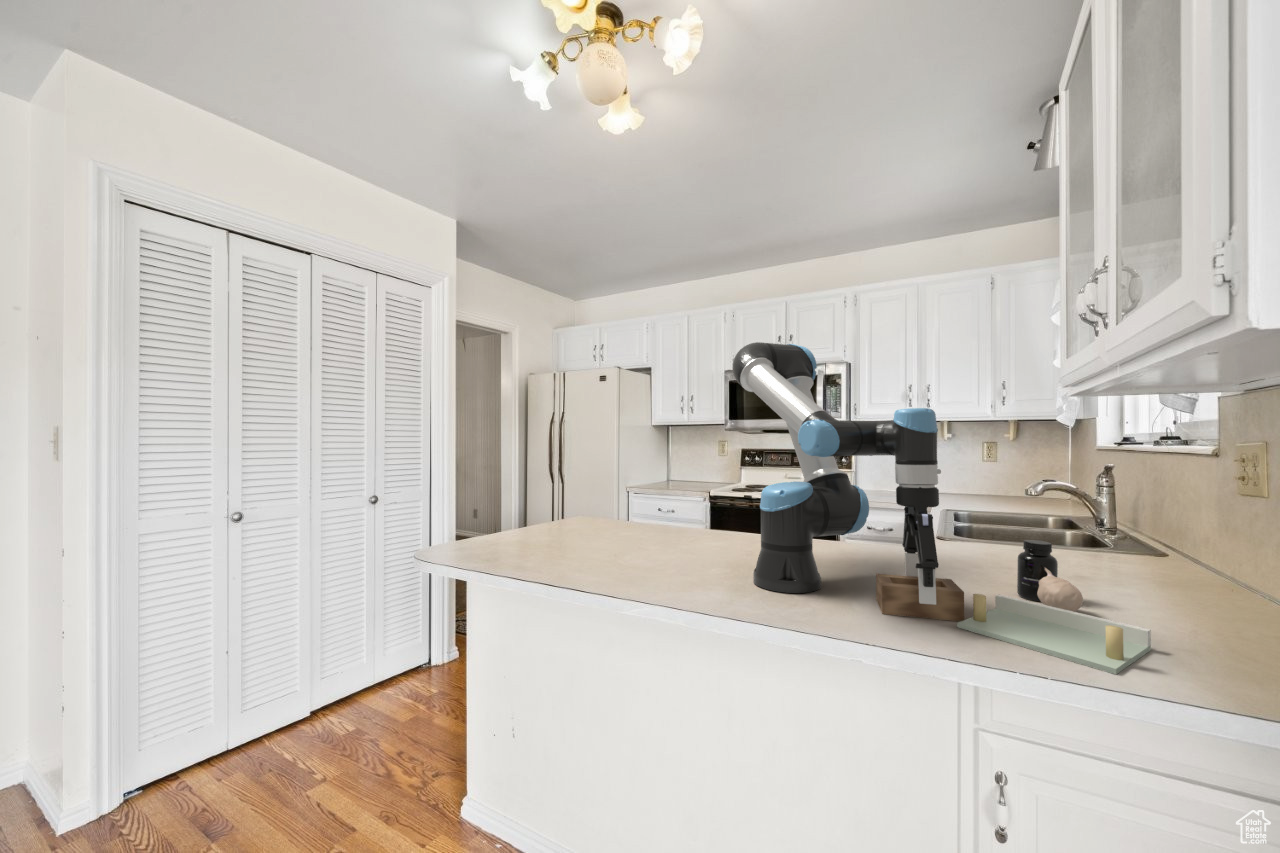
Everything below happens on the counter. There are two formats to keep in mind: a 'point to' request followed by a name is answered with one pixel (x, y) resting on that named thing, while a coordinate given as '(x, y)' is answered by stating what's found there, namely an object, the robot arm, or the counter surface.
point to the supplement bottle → (1034, 567)
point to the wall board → (1060, 632)
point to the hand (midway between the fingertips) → (919, 593)
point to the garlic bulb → (1059, 593)
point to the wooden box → (904, 598)
